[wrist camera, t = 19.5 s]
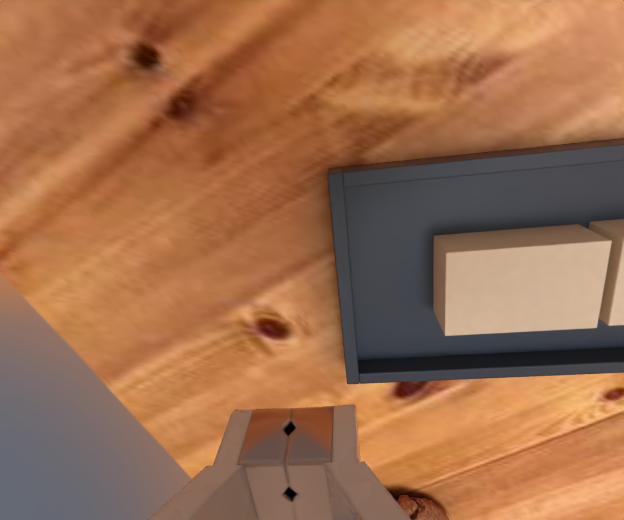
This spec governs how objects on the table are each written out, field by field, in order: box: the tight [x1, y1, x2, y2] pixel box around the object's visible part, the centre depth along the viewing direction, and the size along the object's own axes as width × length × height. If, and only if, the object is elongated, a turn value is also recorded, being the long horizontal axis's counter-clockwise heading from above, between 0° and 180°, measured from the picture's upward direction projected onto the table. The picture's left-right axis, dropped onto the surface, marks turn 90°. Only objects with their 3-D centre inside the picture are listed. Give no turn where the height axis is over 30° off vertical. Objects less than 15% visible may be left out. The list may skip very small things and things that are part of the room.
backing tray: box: [327, 138, 624, 384], centre depth 23 cm, size 24×14×2 cm, turn 96°
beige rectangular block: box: [433, 224, 612, 336], centre depth 22 cm, size 5×8×3 cm, turn 96°
